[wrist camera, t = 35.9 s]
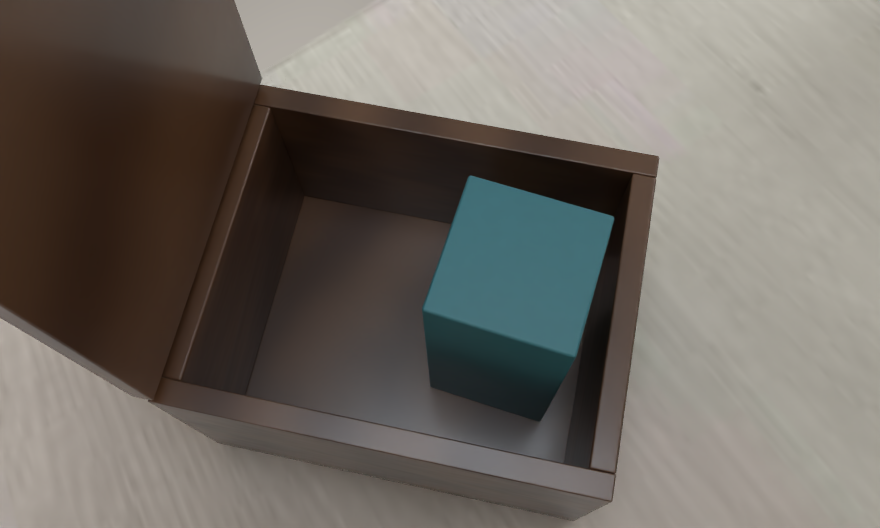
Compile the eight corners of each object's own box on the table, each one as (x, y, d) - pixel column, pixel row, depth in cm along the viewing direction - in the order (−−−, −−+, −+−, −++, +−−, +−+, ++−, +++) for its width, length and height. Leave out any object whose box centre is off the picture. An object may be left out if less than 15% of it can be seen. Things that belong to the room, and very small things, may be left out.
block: (570, 316, 37) (615, 215, 27) (540, 422, 36) (575, 358, 26) (464, 283, 38) (468, 173, 28) (429, 387, 36) (420, 310, 26)
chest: (616, 245, 40) (659, 156, 31) (574, 521, 35) (612, 502, 27) (295, 184, 41) (255, 83, 33) (216, 442, 37) (147, 401, 28)
